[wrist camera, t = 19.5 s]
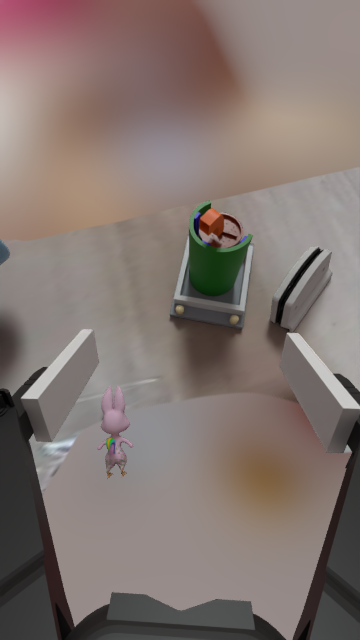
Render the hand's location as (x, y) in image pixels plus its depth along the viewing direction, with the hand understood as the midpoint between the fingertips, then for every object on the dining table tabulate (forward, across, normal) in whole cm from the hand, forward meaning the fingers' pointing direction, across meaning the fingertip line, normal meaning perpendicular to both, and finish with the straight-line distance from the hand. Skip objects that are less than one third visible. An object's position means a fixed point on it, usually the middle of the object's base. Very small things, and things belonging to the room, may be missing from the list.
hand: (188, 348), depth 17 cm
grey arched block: (+36, +22, -8) cm, 43 cm away
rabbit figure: (+17, -13, -28) cm, 36 cm away
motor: (+37, +4, -5) cm, 38 cm away
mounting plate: (+38, +5, -6) cm, 38 cm away
